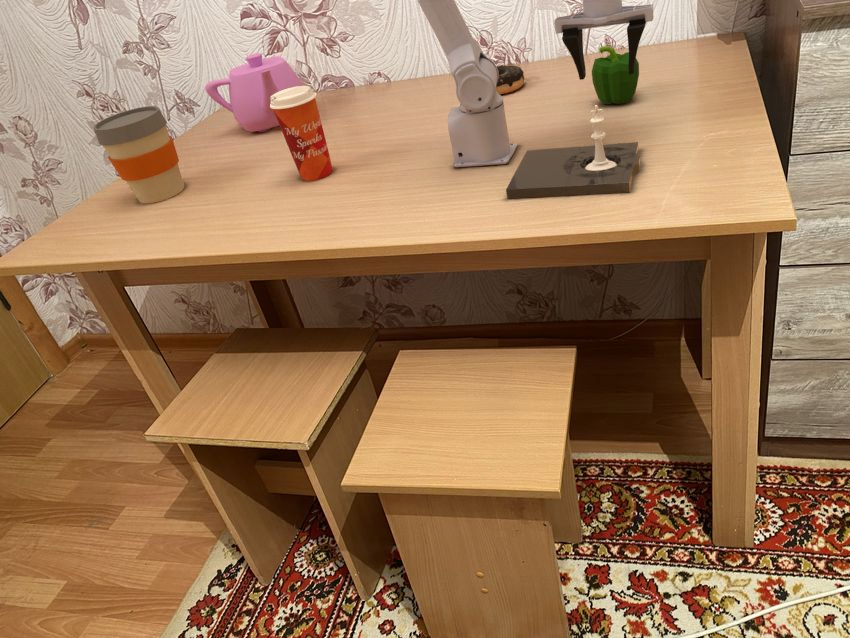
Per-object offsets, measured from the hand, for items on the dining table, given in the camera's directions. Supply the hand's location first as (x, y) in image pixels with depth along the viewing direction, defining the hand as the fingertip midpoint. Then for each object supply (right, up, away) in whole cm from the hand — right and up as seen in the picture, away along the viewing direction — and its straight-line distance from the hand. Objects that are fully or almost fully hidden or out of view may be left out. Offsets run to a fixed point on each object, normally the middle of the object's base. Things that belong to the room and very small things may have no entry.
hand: (607, 75), depth 110 cm
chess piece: (-2, -16, -4) cm, 17 cm away
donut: (-15, +13, +41) cm, 45 cm away
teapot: (-66, +10, +52) cm, 85 cm away
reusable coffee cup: (-82, -13, +27) cm, 87 cm away
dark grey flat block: (-5, -16, -3) cm, 18 cm away
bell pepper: (+6, +3, +21) cm, 22 cm away
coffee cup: (-50, -11, +19) cm, 54 cm away
